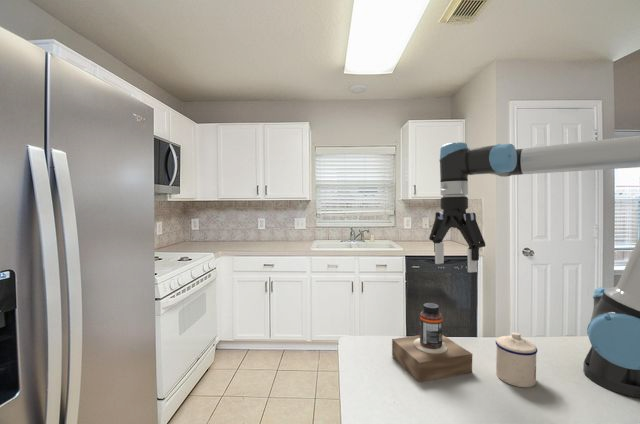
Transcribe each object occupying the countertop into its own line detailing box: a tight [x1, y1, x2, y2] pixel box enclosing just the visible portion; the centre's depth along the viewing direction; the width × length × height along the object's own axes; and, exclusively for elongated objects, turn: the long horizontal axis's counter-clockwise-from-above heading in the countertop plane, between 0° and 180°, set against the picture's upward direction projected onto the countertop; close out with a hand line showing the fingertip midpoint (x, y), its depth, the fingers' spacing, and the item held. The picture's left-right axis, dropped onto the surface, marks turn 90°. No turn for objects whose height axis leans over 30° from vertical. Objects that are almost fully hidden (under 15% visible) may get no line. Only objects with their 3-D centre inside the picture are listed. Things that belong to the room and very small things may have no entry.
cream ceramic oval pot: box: [495, 332, 538, 388], centre depth 82 cm, size 12×9×12 cm
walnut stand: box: [391, 334, 473, 383], centre depth 88 cm, size 14×16×5 cm
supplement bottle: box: [419, 302, 443, 349], centre depth 88 cm, size 6×6×11 cm
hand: (454, 267), depth 94 cm, fingers open, 13 cm apart
